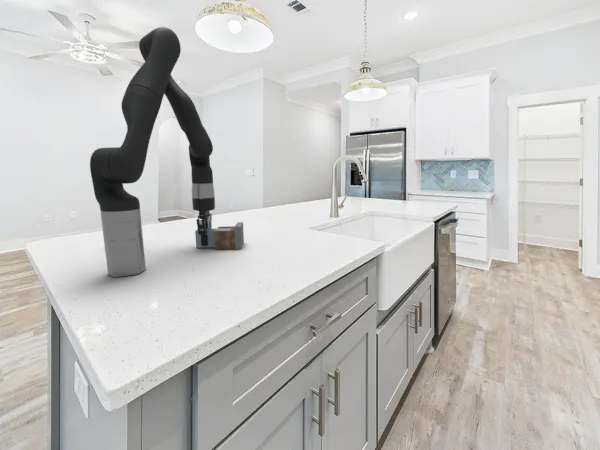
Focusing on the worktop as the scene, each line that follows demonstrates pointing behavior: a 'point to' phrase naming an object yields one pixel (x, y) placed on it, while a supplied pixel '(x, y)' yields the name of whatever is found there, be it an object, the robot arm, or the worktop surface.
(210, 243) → the peg
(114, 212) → the robot arm
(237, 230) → the wall
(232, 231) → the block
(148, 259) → the worktop surface
